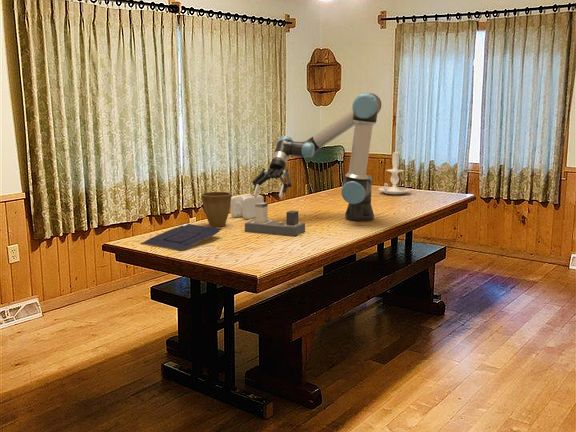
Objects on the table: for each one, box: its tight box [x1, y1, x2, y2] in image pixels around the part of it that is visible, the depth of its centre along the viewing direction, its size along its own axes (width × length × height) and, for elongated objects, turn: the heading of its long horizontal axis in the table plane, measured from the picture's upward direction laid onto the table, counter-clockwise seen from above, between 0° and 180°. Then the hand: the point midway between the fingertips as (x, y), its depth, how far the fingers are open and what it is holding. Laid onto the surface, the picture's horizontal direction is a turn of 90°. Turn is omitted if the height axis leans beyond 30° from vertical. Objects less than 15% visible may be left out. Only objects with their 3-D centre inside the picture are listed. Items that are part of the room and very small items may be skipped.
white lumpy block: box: [230, 193, 265, 220], centre depth 325 cm, size 15×11×12 cm
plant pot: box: [200, 191, 233, 228], centre depth 303 cm, size 15×15×16 cm
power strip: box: [244, 210, 306, 237], centre depth 291 cm, size 26×12×10 cm, turn 67°
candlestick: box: [378, 151, 411, 195], centre depth 398 cm, size 21×25×28 cm
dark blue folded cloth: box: [139, 223, 223, 252], centre depth 273 cm, size 24×30×4 cm
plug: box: [255, 202, 269, 223], centre depth 293 cm, size 4×5×12 cm
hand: (267, 196), depth 298 cm, fingers open, 13 cm apart
